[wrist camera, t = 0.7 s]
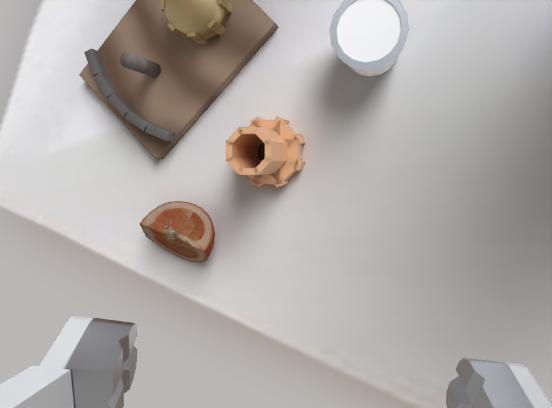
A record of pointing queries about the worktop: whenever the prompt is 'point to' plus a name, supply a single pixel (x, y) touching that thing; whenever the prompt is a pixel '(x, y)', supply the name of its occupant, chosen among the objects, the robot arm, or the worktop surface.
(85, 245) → the worktop surface
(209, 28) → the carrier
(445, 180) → the worktop surface
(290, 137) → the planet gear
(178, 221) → the fruit slice
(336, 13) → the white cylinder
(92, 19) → the worktop surface
